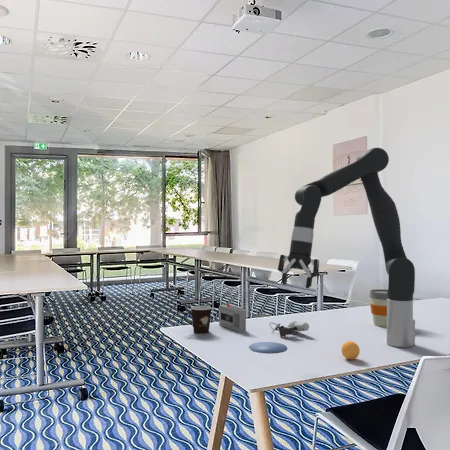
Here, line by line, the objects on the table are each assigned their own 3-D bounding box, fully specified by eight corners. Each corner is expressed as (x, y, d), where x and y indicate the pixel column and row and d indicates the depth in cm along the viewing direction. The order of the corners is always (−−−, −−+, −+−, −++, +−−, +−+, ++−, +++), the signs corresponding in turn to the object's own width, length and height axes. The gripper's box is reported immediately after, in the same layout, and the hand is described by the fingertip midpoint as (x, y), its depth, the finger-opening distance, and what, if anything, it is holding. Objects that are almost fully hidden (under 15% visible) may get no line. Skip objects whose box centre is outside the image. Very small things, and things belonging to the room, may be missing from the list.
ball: (352, 355, 158) (353, 338, 158) (363, 360, 153) (363, 343, 153) (337, 357, 157) (337, 339, 157) (347, 362, 151) (347, 344, 151)
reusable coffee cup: (405, 326, 202) (405, 292, 201) (382, 329, 197) (382, 294, 197) (385, 320, 213) (385, 288, 213) (363, 322, 209) (363, 290, 208)
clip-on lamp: (264, 338, 193) (292, 338, 178) (261, 323, 194) (288, 322, 179) (285, 332, 199) (313, 331, 185) (282, 317, 200) (310, 315, 185)
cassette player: (219, 325, 204) (219, 302, 204) (224, 324, 206) (224, 302, 206) (240, 332, 192) (240, 308, 191) (245, 331, 193) (245, 307, 193)
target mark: (277, 341, 177) (277, 340, 177) (293, 351, 164) (293, 350, 164) (243, 344, 173) (243, 343, 173) (257, 354, 160) (257, 354, 160)
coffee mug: (211, 329, 196) (211, 305, 196) (211, 334, 188) (211, 309, 188) (184, 329, 196) (184, 306, 196) (183, 334, 187) (183, 310, 187)
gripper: (324, 244, 162) (318, 289, 161) (286, 240, 169) (280, 283, 167) (318, 241, 156) (312, 289, 154) (279, 237, 162) (273, 282, 161)
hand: (295, 286), depth 161 cm, fingers open, 8 cm apart
